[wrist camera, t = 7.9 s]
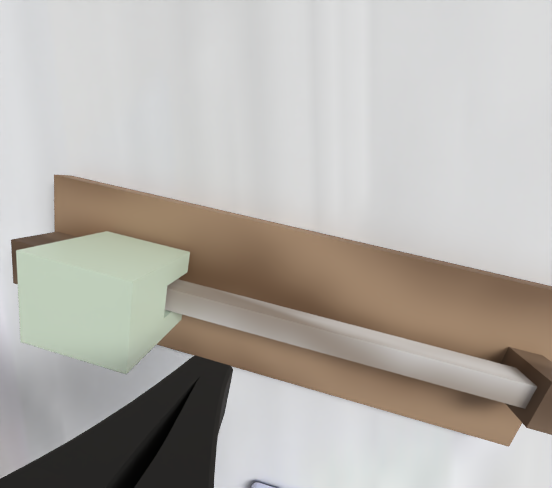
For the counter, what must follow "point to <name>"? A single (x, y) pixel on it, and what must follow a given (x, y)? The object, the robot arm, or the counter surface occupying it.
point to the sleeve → (98, 297)
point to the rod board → (338, 312)
